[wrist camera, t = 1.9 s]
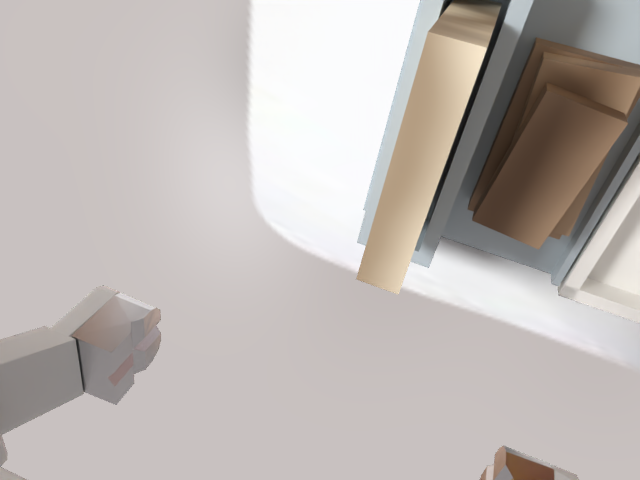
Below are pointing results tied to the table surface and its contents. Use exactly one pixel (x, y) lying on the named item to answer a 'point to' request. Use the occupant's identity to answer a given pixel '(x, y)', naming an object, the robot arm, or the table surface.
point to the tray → (611, 256)
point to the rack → (486, 116)
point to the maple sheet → (426, 137)
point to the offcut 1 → (518, 103)
